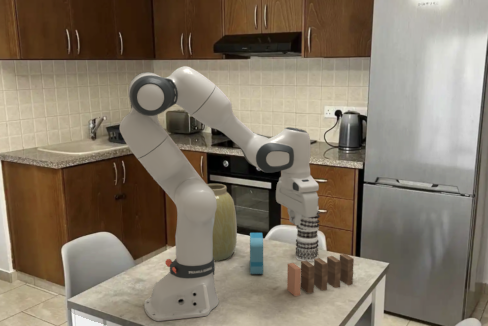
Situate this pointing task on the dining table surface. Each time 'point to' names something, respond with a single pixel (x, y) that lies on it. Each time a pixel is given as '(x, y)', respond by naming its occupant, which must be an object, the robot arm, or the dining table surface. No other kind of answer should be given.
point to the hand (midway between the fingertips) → (294, 223)
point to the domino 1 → (293, 279)
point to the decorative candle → (307, 238)
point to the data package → (256, 253)
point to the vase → (223, 224)
